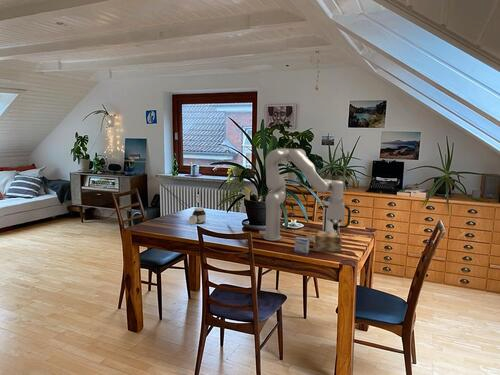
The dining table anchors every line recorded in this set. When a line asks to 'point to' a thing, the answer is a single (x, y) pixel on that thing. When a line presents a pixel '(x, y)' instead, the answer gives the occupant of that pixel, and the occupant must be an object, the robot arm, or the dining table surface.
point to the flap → (339, 234)
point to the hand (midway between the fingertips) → (335, 229)
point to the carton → (326, 241)
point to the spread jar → (198, 216)
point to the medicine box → (301, 245)
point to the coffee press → (329, 225)
